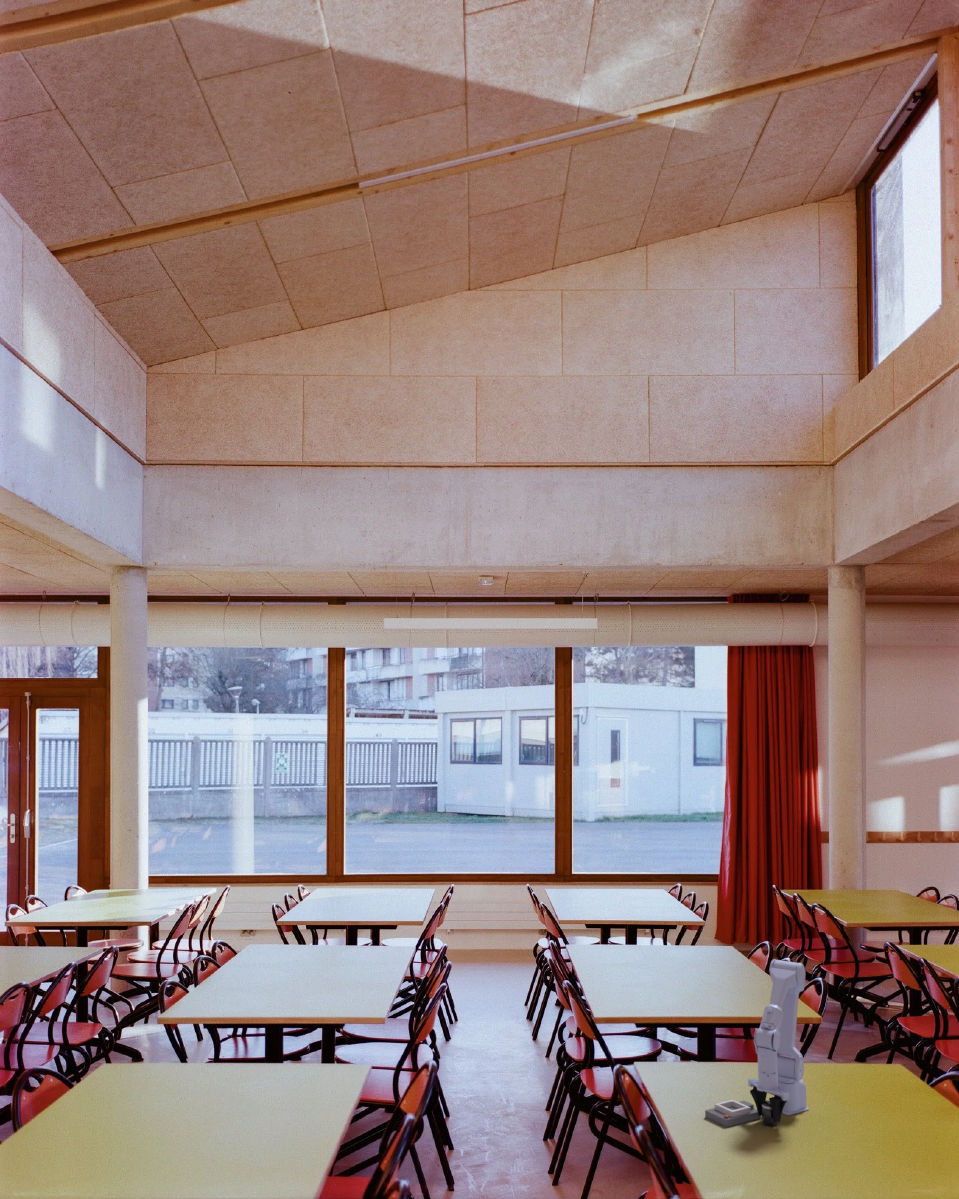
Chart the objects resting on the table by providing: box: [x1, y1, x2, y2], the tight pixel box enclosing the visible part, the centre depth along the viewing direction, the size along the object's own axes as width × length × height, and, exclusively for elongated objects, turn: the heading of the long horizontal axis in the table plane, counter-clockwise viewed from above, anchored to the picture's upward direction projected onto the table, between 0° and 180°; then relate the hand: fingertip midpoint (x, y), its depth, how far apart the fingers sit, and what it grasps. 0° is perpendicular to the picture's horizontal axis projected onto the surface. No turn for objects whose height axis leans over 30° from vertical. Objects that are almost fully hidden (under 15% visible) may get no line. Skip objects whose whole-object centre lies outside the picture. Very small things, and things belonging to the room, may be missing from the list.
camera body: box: [704, 1099, 762, 1128], centre depth 308 cm, size 14×9×4 cm, turn 120°
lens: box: [761, 1100, 777, 1128], centre depth 303 cm, size 4×4×6 cm
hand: (769, 1118), depth 303 cm, fingers open, 5 cm apart
